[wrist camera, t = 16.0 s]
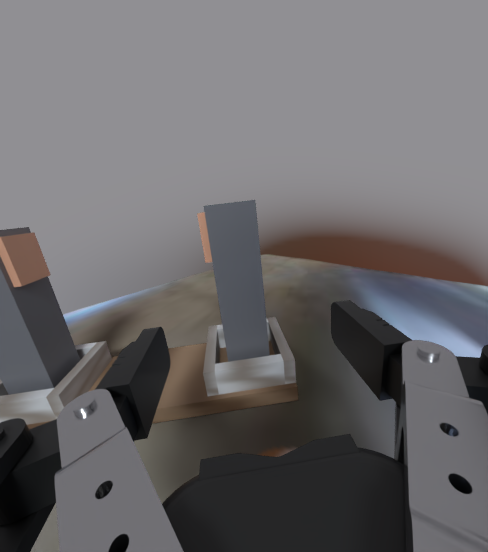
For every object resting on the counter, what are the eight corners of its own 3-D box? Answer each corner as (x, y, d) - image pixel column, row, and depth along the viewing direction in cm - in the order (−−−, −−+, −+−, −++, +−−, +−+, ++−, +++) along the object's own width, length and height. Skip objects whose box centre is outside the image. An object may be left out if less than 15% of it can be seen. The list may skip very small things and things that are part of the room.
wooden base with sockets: (276, 343, 29) (274, 315, 28) (298, 400, 21) (296, 363, 19) (50, 376, 28) (38, 348, 27) (-27, 452, 19) (-50, 415, 18)
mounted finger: (90, 372, 25) (35, 226, 21) (67, 401, 22) (-8, 230, 17) (48, 378, 25) (-18, 232, 20) (16, 409, 21) (-74, 238, 17)
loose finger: (263, 346, 26) (248, 201, 21) (271, 370, 22) (255, 199, 18) (223, 353, 26) (200, 207, 21) (224, 378, 22) (195, 207, 17)
